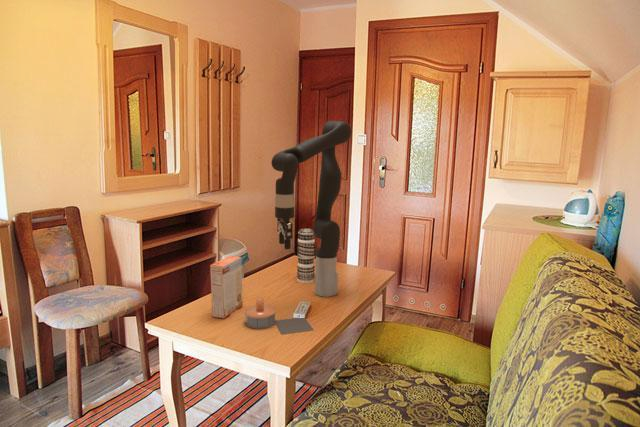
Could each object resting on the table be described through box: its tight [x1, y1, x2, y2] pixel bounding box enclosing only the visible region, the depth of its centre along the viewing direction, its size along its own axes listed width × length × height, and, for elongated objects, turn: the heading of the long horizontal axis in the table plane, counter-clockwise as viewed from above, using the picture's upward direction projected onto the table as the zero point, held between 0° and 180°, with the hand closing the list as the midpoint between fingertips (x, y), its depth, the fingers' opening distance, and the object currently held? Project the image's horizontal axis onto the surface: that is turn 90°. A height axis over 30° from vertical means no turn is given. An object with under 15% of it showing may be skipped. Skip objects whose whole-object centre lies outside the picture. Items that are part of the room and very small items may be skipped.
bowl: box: [245, 313, 276, 330], centre depth 160 cm, size 10×10×4 cm
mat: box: [274, 317, 315, 336], centre depth 158 cm, size 12×12×1 cm
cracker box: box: [209, 255, 244, 319], centre depth 169 cm, size 14×6×21 cm, turn 160°
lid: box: [244, 297, 276, 319], centre depth 159 cm, size 11×11×5 cm
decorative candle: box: [296, 227, 317, 284], centre depth 208 cm, size 9×9×25 cm
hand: (284, 246), depth 170 cm, fingers open, 8 cm apart
